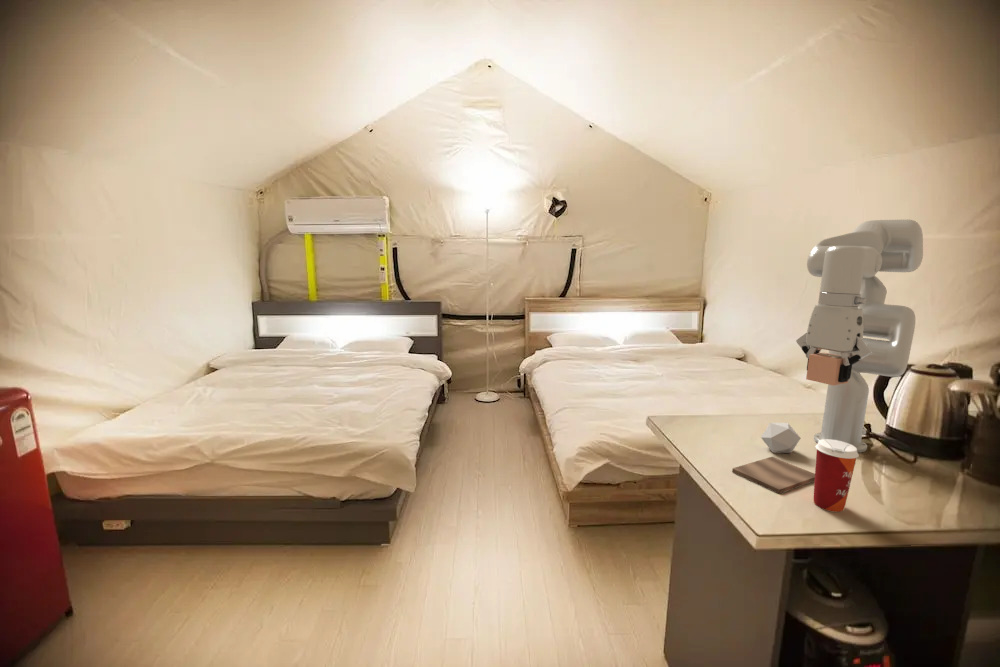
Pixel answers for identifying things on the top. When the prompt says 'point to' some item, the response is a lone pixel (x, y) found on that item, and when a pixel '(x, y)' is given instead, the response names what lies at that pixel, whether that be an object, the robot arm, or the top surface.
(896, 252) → the robot arm
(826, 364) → the lettered cube
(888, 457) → the top surface
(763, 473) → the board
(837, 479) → the paper cup
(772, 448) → the die
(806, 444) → the top surface
